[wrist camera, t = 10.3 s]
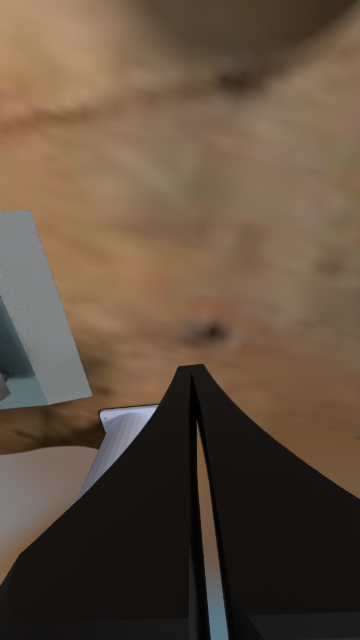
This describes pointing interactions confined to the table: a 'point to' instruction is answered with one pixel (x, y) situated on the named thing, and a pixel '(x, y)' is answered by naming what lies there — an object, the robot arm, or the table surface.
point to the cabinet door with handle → (3, 386)
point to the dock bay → (34, 322)
